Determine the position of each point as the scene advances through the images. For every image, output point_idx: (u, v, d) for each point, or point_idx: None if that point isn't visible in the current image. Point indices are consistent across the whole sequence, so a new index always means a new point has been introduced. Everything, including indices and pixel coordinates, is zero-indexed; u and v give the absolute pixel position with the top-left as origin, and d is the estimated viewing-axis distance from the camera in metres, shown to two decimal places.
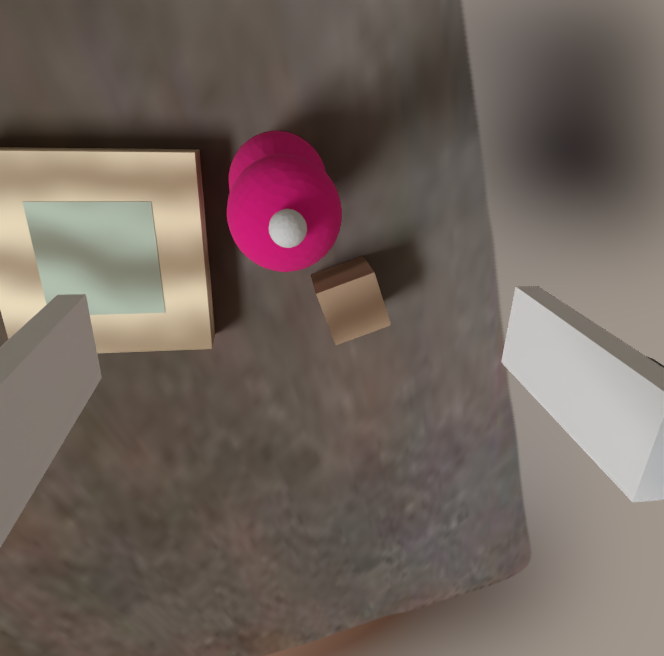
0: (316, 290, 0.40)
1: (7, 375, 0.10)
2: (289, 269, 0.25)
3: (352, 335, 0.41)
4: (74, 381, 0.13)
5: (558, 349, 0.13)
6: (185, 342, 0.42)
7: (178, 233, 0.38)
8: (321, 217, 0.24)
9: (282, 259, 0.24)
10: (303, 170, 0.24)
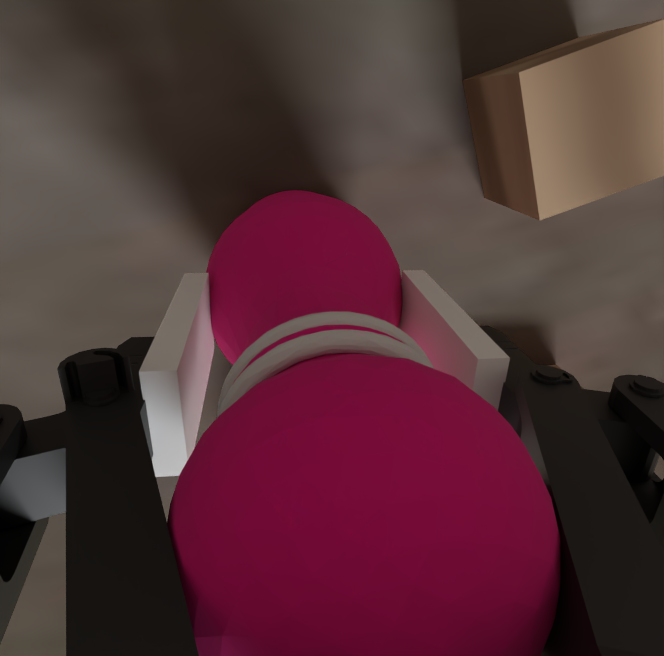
0: (529, 213, 0.18)
1: (187, 332, 0.12)
2: None
3: (660, 131, 0.17)
4: (206, 346, 0.15)
5: (424, 324, 0.15)
6: None
7: None
8: (377, 588, 0.05)
9: None
10: (189, 596, 0.06)
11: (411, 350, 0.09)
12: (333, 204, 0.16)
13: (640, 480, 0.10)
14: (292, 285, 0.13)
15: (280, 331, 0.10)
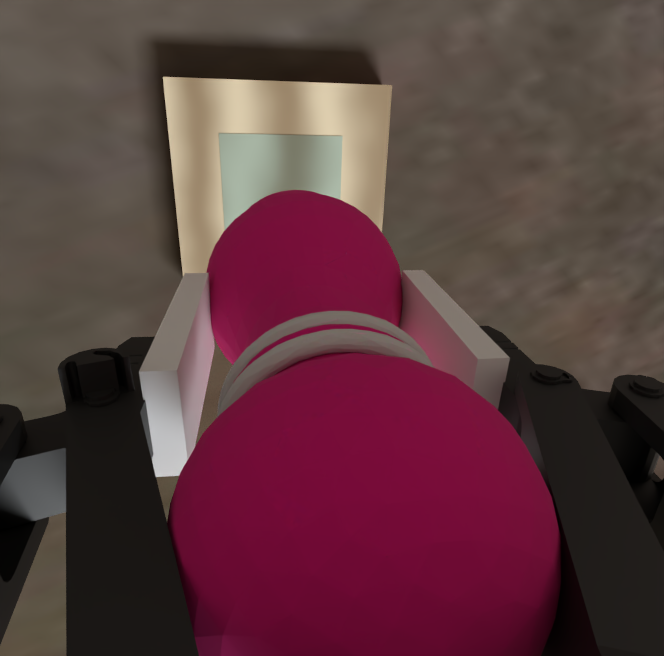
0: None
1: (188, 332, 0.12)
2: None
3: None
4: (206, 346, 0.15)
5: (424, 324, 0.15)
6: (380, 117, 0.36)
7: (252, 108, 0.35)
8: (377, 588, 0.05)
9: None
10: (188, 597, 0.06)
11: (411, 349, 0.09)
12: (333, 204, 0.16)
13: (640, 480, 0.10)
14: (292, 285, 0.13)
15: (280, 330, 0.10)
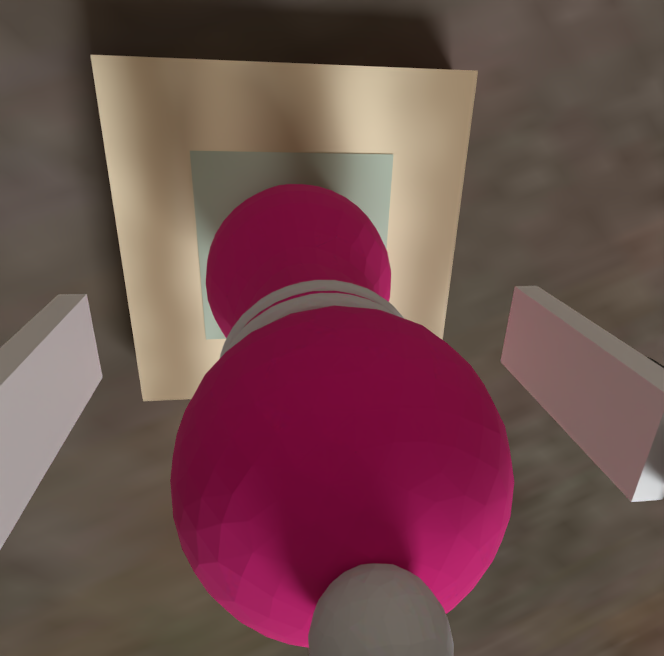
0: None
1: (9, 374, 0.10)
2: (509, 511, 0.08)
3: None
4: (75, 381, 0.13)
5: (557, 348, 0.13)
6: (456, 123, 0.22)
7: (245, 109, 0.21)
8: (348, 476, 0.06)
9: (479, 566, 0.07)
10: (192, 497, 0.07)
11: (390, 312, 0.11)
12: (325, 194, 0.18)
13: None
14: (285, 263, 0.14)
15: (273, 297, 0.11)
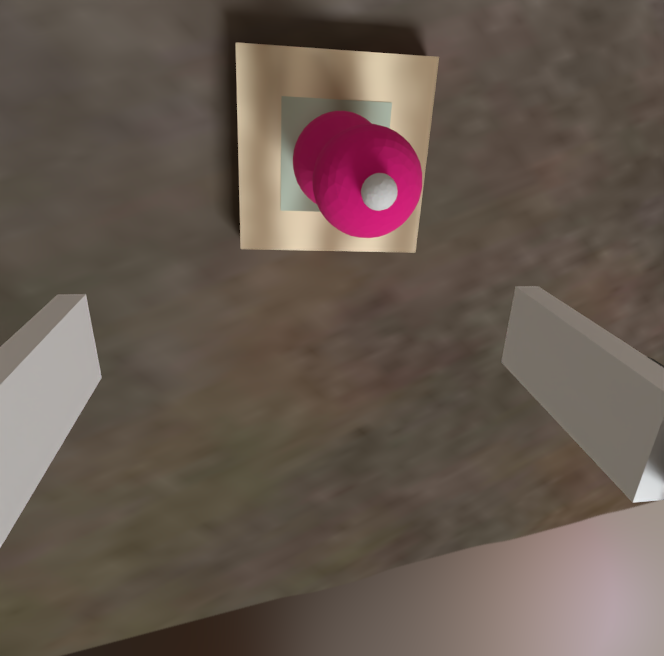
0: None
1: (7, 375, 0.10)
2: (419, 185, 0.26)
3: None
4: (74, 381, 0.13)
5: (558, 349, 0.13)
6: (427, 86, 0.40)
7: (312, 74, 0.39)
8: (372, 153, 0.24)
9: (408, 194, 0.25)
10: (327, 167, 0.25)
11: None
12: (356, 114, 0.35)
13: None
14: None
15: None
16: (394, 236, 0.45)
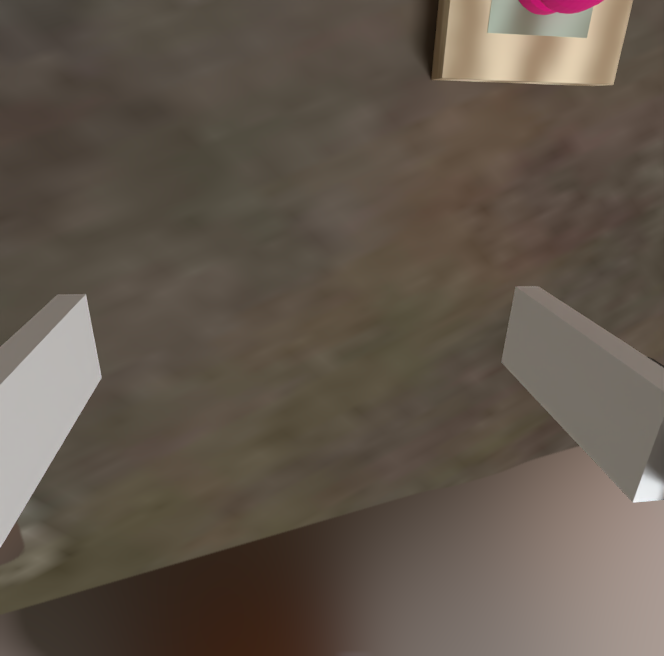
0: None
1: (7, 375, 0.10)
2: None
3: None
4: (74, 381, 0.13)
5: (558, 349, 0.13)
6: None
7: None
8: None
9: None
10: None
11: None
12: None
13: None
14: None
15: None
16: (595, 64, 0.43)
